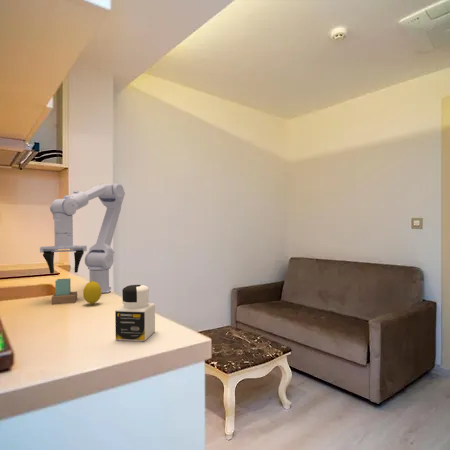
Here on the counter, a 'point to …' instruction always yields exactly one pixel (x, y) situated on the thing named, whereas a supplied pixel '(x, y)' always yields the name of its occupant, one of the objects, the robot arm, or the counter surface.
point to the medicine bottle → (135, 314)
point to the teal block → (62, 287)
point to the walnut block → (64, 298)
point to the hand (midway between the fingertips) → (64, 272)
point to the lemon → (92, 292)
